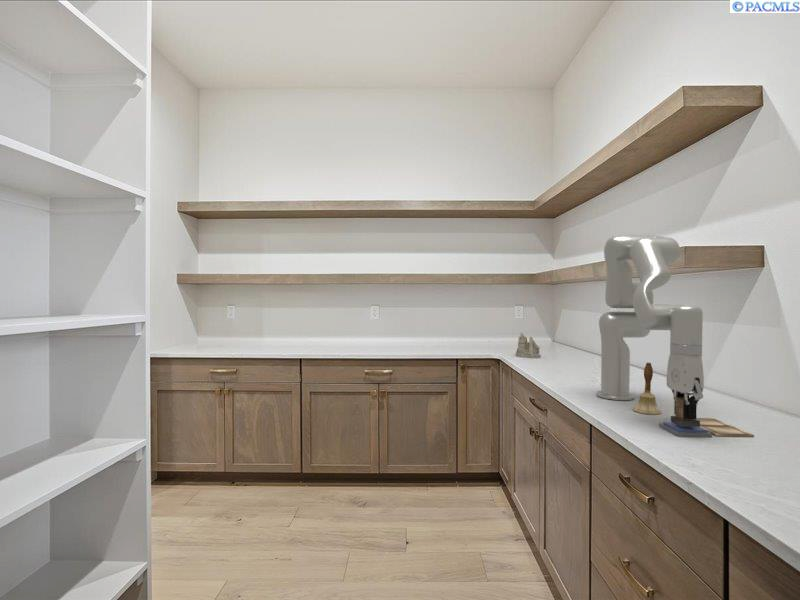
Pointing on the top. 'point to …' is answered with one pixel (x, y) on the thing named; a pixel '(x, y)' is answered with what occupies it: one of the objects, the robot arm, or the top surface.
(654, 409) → the hand bell
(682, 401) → the stamp
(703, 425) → the board
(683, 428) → the ink pad
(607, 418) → the top surface
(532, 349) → the castle ruin model
